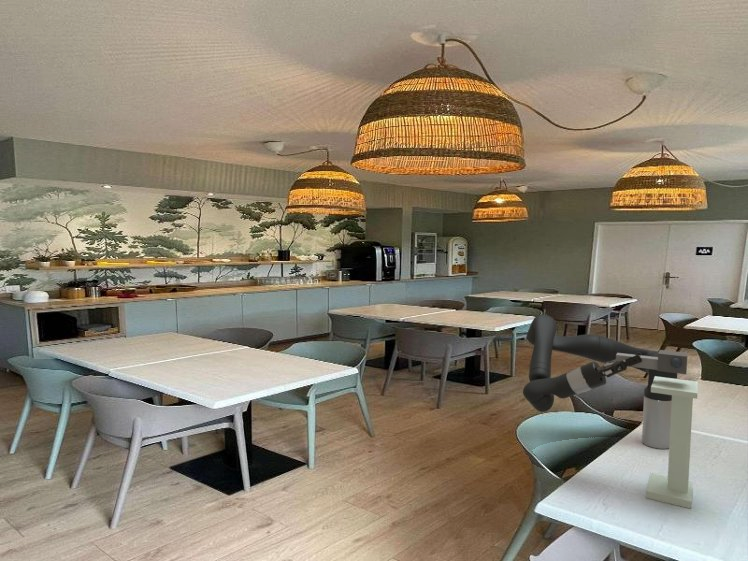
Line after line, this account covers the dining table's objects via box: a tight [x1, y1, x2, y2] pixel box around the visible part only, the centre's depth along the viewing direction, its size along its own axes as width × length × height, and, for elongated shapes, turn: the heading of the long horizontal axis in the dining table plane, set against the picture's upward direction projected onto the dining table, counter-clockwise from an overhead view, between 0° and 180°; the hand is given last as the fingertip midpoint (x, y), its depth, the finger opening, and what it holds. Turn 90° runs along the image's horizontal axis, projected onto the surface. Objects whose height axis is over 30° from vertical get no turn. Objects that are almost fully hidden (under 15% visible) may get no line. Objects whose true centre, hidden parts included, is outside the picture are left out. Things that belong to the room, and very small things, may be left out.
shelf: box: [645, 376, 699, 509], centre depth 147 cm, size 14×11×32 cm
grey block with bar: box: [616, 349, 689, 375], centre depth 149 cm, size 7×18×5 cm, turn 57°
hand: (640, 356), depth 150 cm, fingers closed on grey block with bar, 3 cm apart
